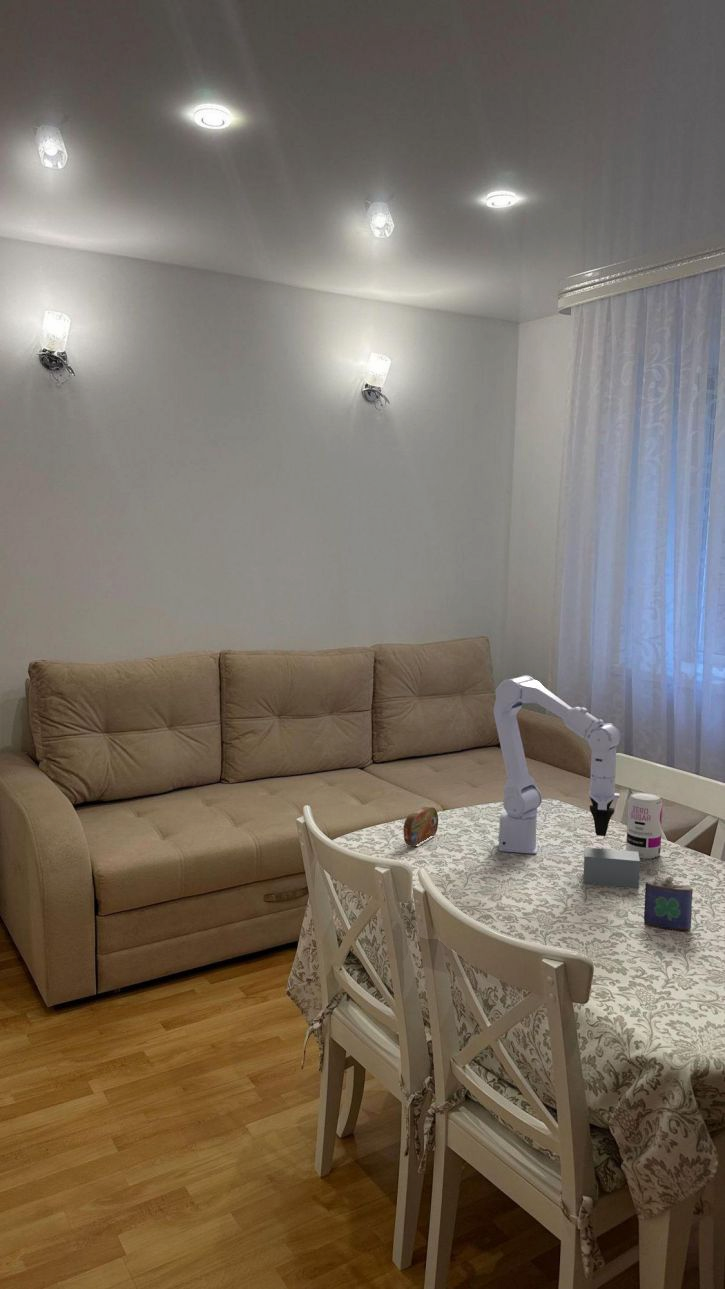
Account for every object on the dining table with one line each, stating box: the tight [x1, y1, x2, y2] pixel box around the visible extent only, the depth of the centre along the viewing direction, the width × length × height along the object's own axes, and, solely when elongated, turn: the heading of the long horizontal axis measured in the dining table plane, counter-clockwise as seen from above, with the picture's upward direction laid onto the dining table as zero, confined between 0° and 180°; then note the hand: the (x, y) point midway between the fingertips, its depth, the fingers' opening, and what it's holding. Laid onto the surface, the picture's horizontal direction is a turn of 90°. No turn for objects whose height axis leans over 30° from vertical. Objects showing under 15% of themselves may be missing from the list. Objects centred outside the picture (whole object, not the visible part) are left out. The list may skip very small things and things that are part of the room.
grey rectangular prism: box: [583, 847, 641, 889], centre depth 211 cm, size 12×6×6 cm, turn 77°
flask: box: [643, 876, 694, 933], centre depth 186 cm, size 9×3×11 cm, turn 68°
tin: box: [403, 806, 439, 847], centre depth 237 cm, size 15×3×8 cm, turn 148°
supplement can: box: [625, 791, 663, 860], centre depth 228 cm, size 8×8×15 cm
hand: (600, 830), depth 218 cm, fingers open, 7 cm apart
